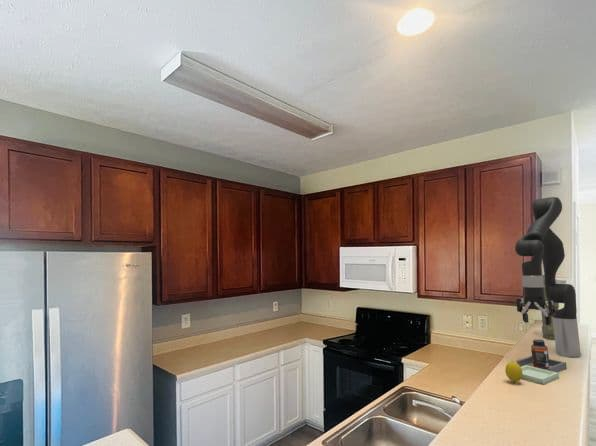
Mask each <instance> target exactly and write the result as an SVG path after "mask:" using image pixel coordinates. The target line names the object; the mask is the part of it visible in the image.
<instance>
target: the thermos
mask: <svg viewBox="0 0 596 446" xmlns="http://www.w3.org/2000/svg"><path fill="white" fill-rule="evenodd" d="M542 278H543V284H544V294H545V300H546V301H549V300H548V299H547V296H546V291H545V276H544V275H543V274H542ZM554 305H555V310H559V308H560V303H555V302H554ZM545 307H546V308H547V309H548V311H549V306H548V305H547V304H545ZM540 312H541V311H540ZM541 320H542V321H541V323H542V325H541V332H542V336H543V337H542V338H543V339H546V340H549V341H555V335H554V326H553V317H552V316H551V324H550V325H549V326H547V325H546V322H545V315H544V313H543V312H541Z"/></svg>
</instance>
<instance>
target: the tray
mask: <svg viewBox="0 0 596 446" xmlns="http://www.w3.org/2000/svg"><path fill="white" fill-rule="evenodd" d="M521 369H522V373H523V375H522V379H521V380H524V381H529V382H532V383H535V384H538V385H542V386H544V385H547V384H550V383H551V382H554V381H556V380H559V379H560V372H552V371H548V369H540V368H536V367H534V366H533V365H532V366H530V365H528V364H527V365H524V366H521Z"/></svg>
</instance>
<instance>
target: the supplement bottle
mask: <svg viewBox="0 0 596 446" xmlns="http://www.w3.org/2000/svg"><path fill="white" fill-rule="evenodd" d="M530 351H531V356H532V361H533V363H532V367H536V368H540V369H544V370H548V368H549V367H551V366H550V364H549V359H550V356H549V348H548V347H547V346H546V344H545V341H544V340H543V339H533V340H532V344H531V346H530Z"/></svg>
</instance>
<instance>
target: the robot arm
mask: <svg viewBox="0 0 596 446" xmlns="http://www.w3.org/2000/svg"><path fill="white" fill-rule="evenodd" d="M562 210H563V203H562V201H561V199H560V198H559V197H557V196H551V197H550V196H549V197H544V198H536V199H534V200H533V201H532V213H533V217H534V221H533V222H532V223H531V224H530V226H529V227H528V229H527V232H526V233H525V234H524V235H523V236H522V237H520V238H519V239H518V240H517V242H516V243H515V246H514V250H515V253H516V254H517V255H518V256H520V257H532V259H531V260H528V261H524V262H523V263H521V271H522V290H523V291H522V292H523V296H524V298H522V297H518V298H516V311H517V312H519V313H521V314H522V315H521V316H522V321H523V323H525V324H526V323H529V314H528V312H529V311H530V310H535V311H540V312H543V313H544V315H545V322H546V325H547V326H549V325H550V324H551V316H552V317H553V326H554V335H555V340H554V342H555V343H554V345H555V352H556V355H559V356H561V357H568V358H581V356H582V353H581V343H580V335H579V326H578V316H577V314H578V312H577V309H578V308H577V294H576V293H577V292H576V290H575V287H574V286H573V284H570V283H557V282H556V276H557V275H556V274H557V272H558V270H559V268H560V267H561V265H562V264H563V261H564V259H565V257H566V254H565V247H564V243H563V241H562V240H561V238H560V237H559V236H558V235H557V234H556V233H555V232H554V231H553V230H552V229H551V228H550V227H551V226H552V225H553V224H554V223H555V221H556V220H557V219H558V218H559V216H560V214H561V213H562ZM542 265H543V272H542ZM542 273H544V276H545V291H546V296H547V299H548V300H549V301H546V300H545V294H544V284H543V278H542V275H543V274H542ZM554 302H555V303H559V304H564V305H563V307H562V308H560V309H559V308H558V310H555V305H554ZM523 304H525V306H524V305H523ZM545 304H547V305H548V306H549V311H548V309H547V308H546V307H545ZM523 306H524V307H523Z"/></svg>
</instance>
